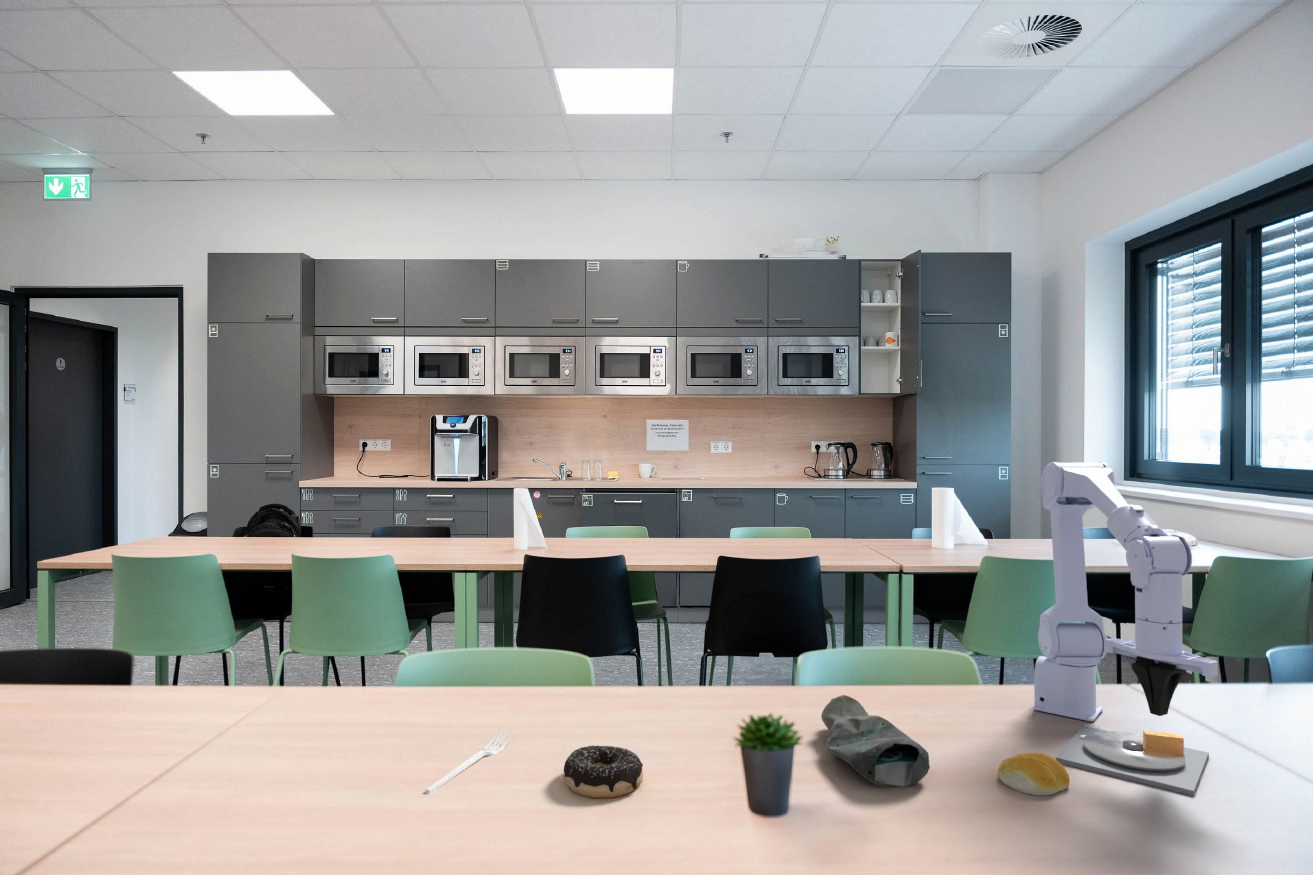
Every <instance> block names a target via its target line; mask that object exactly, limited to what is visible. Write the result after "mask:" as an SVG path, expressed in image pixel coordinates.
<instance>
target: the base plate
mask: <svg viewBox="0 0 1313 875" xmlns="http://www.w3.org/2000/svg"><path fill="white" fill-rule="evenodd" d="M1105 731H1107V730H1105V729H1101V728H1096V727H1092V726H1091V727H1090V726H1087V725H1083V726H1082V727H1080V729H1079V730H1078V731H1077V732H1076V733H1075V734H1074V736H1072V738H1071V739H1070V740H1069V742H1067V743H1066V745H1065V746H1064V747H1063V748H1062V750H1061V751H1060V752H1059V753H1058V754H1057V755H1056V756H1055V760H1057V761H1058V762H1059V763H1061V764H1062V765H1066V766H1071V767H1074V768H1078V769H1082V770H1086V771H1091V772H1094V773H1099V774H1104V775H1106V776H1110V777H1115V778H1118V779H1123V780H1126V781H1131V782H1134V783H1135V782H1136V783H1139V784H1143V785H1147V786H1150V787H1151V786H1152V787H1156V788H1158V789H1159V788H1160V789H1164V790H1168V791H1172V792H1176V793H1179V794H1184V795H1188V796H1193V797H1194V796H1195V794H1196V791H1197V790H1198V786H1199V784H1200V781H1201V779H1202V776H1203V774H1204V771H1205V768H1206V766H1207V763H1208V761H1209V759H1210V753H1209V752H1210V751H1209V752H1207V751H1203V750H1198V749H1195V748H1190V747H1189V748H1188V747H1186V746H1185V747H1184V755H1185V765H1184V766H1183V767H1182V768H1180V769H1177V770H1173V771H1147V770H1139V769H1133V768H1128V767H1123V766H1120V765H1116V764H1113V763H1110V762H1107V761H1104V760H1102V759H1099V758H1097V757H1095V756H1093V755H1092V754H1090V753H1089V752H1088V751H1087V750H1086V749H1085V748H1084V746H1083V739H1084V737H1085V736H1086V735H1088V734H1090V733H1095V732H1105Z"/></svg>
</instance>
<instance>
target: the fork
mask: <svg viewBox="0 0 1313 875" xmlns="http://www.w3.org/2000/svg"><path fill="white" fill-rule="evenodd" d="M499 732H500V731H499V730H498V731H497V732H496V733H495V734H494V736H493V737H492V738H491V740H490V741H489V742H488V743H487V744H486V745H485V746H484V747H483V748H482V750H481V749H478V751H477V752H475V753H474V754H473V755H471V756H470V757H468V758H467V759H466V760H465V761H463V762H462V763H460V764H459V765H457V767H455V768H453V769H452V770H450V771H449V772H448V773H447V774H445V775H444V776H443V777H441V778H440V779H438V780H437V781H436V782H434V783H433V784H431V785H430V786H429V787H427V788H425V792H424V794H427V795H430V794H432V793H433V792H434V791H436V790H437V789H439V788H441V787H442V786H443V785H444V784H446V783H447V782H449V781H450V780H451V779H453V778H454V777H456V776H457V775H459V774H460V773H462V772H463V771H465V770H466V769H468V768H469V767H470V766H471V765H473V764H475V762H477V761H479V760H480V759H481V758H483V757H485V756H494V755H496V754H498V753H499V752H502V751H503V749H505V748H506V746H507V743H508V742H509V739H510V736H511V735H512V734H511V733H512V732H511V731H510V732H509V733H508V734H507V731H505V732H503V731H502V730H501V732H500V733H499ZM498 734H499V735H498ZM505 737H506V738H505Z"/></svg>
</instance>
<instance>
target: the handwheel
mask: <svg viewBox="0 0 1313 875" xmlns="http://www.w3.org/2000/svg"><path fill="white" fill-rule="evenodd" d="M1184 742H1185V740H1184V737H1183V736H1182V734H1178V733H1170V732H1162V731H1153V730H1152V731H1151V730H1145V729H1143V730H1142V734H1137V733H1131V732H1125V731H1123V732H1122V731H1121V732H1120V731H1109V730H1106V731H1105V732H1095V733H1090V734H1088V735H1086V736H1085V737H1084V739H1083V746H1084V748H1085V749H1086V750H1087V751H1088V752H1089V753H1090V754H1092V755H1093V756H1095V757H1097V758H1099V759H1102V760H1104V761H1107V762H1110V763H1113V764H1116V765H1120V766H1123V767H1128V768H1133V769H1139V770H1147V771H1173V770H1177V769H1180V768H1182V767H1183V766H1184V765H1185V755H1184V746H1185V743H1184Z"/></svg>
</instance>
